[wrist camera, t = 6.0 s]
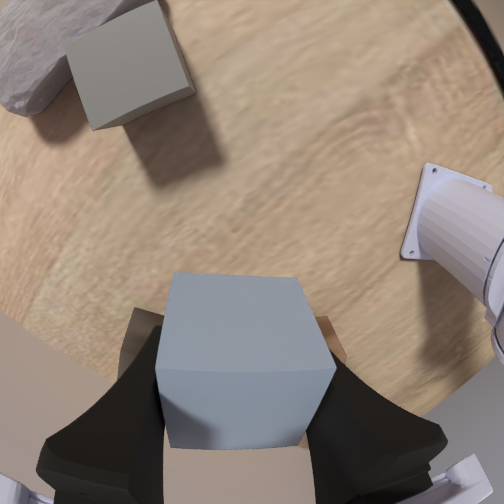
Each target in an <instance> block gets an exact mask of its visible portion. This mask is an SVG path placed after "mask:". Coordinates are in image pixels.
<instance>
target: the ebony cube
mask: <svg viewBox="0 0 504 504" xmlns="http://www.w3.org/2000/svg"><path fill="white" fill-rule="evenodd" d="M163 321H164V316H163V315H160V314H156V313H153V312H149V311H146V310H142V309H139V308H136V307H134V310H133V313H132V316H131V319H130V322H129V325H128V328H127V332H126V335H125V338H124V341H123V344H122V348H121V351H120V359H119V368H118V378H117V380H118V379H119V378H120V377H121V375H122V374H123V373H124V372H125V370H126V369H127V368H128V366H129V365H130V364H131V362H132V361H133V360H134V358H135V357H136V355H137V354H138V352H139V351H140V349H141V348H142V346H143V345H144V343H145V342H146V340H147V338H148V336H149V335H150V333H151V331H152V329H153V327H154V326H156V325H159V326H163Z"/></svg>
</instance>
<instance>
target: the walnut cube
mask: <svg viewBox="0 0 504 504" xmlns="http://www.w3.org/2000/svg"><path fill="white" fill-rule="evenodd" d="M315 319H316V321H317V323H318V326H319V328H320V330H321V332H322V335H323V337H324V339H325V342H326V344H327V346H328V348H329V349H330V350H331V351H332V352H333V353H334V354H335V355H336V356H337V357H338V358H339V360H340V361H341V362H342V363H343V364H344V365H345V361H346V357H347V355H346V353H345V351H344V349H343V347H342V345H341V343H340V341H339V339H338V337H337V335H336V333H335V331H334V329H333V327H332V325H331V323H330V321H329V319H328V317H327V316H322V317H315Z"/></svg>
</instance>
